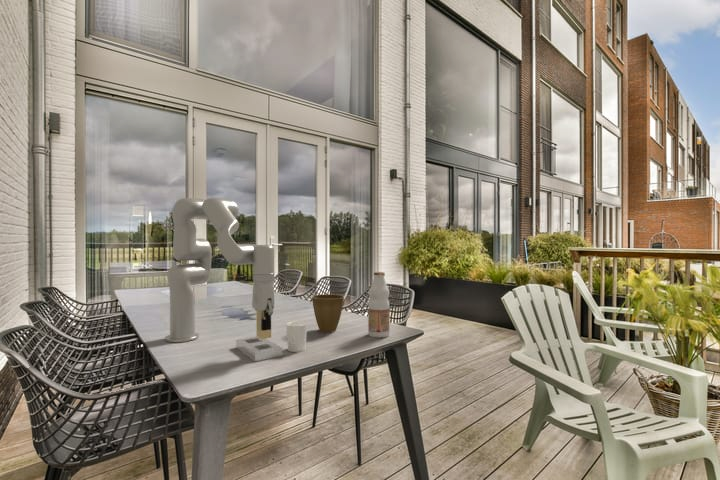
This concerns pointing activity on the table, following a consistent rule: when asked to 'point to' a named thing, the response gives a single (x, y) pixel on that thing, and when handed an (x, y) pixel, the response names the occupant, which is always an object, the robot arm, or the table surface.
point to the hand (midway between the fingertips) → (263, 328)
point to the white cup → (296, 336)
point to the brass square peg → (260, 332)
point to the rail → (258, 348)
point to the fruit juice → (378, 307)
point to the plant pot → (327, 311)
